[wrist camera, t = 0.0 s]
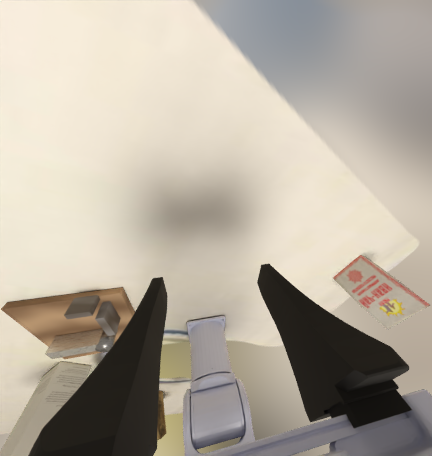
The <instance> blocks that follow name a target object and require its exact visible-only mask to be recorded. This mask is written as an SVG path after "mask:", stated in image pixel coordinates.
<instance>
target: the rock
mask: <svg viewBox="0 0 432 456" xmlns="http://www.w3.org/2000/svg"><path fill="white" fill-rule="evenodd" d="M165 434H166V425H165V415H164V403H163V392H162V391H159V397H158V427H157V440H159V439H161V438H162V437H163V436H164V435H165Z"/></svg>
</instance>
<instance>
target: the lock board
mask: <svg viewBox="0 0 432 456" xmlns="http://www.w3.org/2000/svg"><path fill="white" fill-rule="evenodd" d="M1 310H2V311H4V312H5V313H6V314H7V315H9V316H10V317H11V318H13V319H14V320H15V321H16V322H18V323H19V324H20V325H22V326H23V327H24V328H25V329H27V330H28V331H29V332H30V333H32V334H33V335H34V336H36V337H37V338H38V339H39V340H41V341H42V342H43V343H45V344H46V345H47V346H48V347H49V346H50V345H51V343H52V341H53V340H54V338H55V336H62V335H68V334H74V333H80V332H86V331H92V330H98V329H103V330H104V332H105V333H106V334H107V336H111V335H116V332H117V329H118V332H117V335H116V338H115V341H114V343H115V342H116V341H117V339H118V338H119V336H120V335H121V333H122V332H123V331H124V329H125V328H126V326H127V324H128V323H129V321H130V320H131V318H132V316H133V315H134V313H135V312H134V310H133V307H132V305H131V303H130V301H129V299H128V297H127V295H126V293H125V291H124V289H123V287H122V288H114V289H107V290H99V291H91V292H84V293H76V294H68V295H61V296H53V297H45V298H38V299H30V300H22V301H15V302H7V303H6V304H5V305H4V307H3V308H2V309H1ZM113 345H114V344H113ZM96 353H101V352H97V351H93V352H88V353H82V354H77V355H71V356H66V357H62V358H64V359H69V358H74V357H80V356H85V355H91V354H96Z"/></svg>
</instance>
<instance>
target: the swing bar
mask: <svg viewBox="0 0 432 456" xmlns="http://www.w3.org/2000/svg"><path fill="white" fill-rule="evenodd" d="M117 332H118V329H117ZM117 332H116V335H117ZM116 335H111V336H107V334H106V333H105V332H104V330H103V329H98V330H92V331H86V332H80V333H74V334H68V335H62V336H55V338H54V340H53V341H52V343H51V345H50V346H49V348H48V350H47V351H46V353H45V354H46V355H47V356H49V357H50V358H52V359H55V358H60V357H66V356H71V355H77V354H82V353H88V352H93V351H97V352H108V351H109V350H110V349H111V347H112V346H113V344H114V341H115V338H116Z"/></svg>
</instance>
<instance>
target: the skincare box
mask: <svg viewBox="0 0 432 456" xmlns="http://www.w3.org/2000/svg"><path fill="white" fill-rule="evenodd" d="M90 368H91V365H83V364H76V363H69V362H62V361H61V362H60V363H58V364H57V365H56V366H55V367H54V368H52V369H51V370H50V371H49V372H48V373H47V374H45V375H44V376H43V377H42V378H41V380H40V382H39V384H38V386H37V388H36V389H35V391H34V393H33V395H32V397H31V398H30V400H29V402H28V404H27V405H26V407H25V409H24V411H23V412H22V414H21V416H20V418H19V419H18V421H17V423H16V425H15V426H14V428H13V430H12V432H11V433H10V435H9V437H8V439H7V441H6V442H5V444H4V446H3V448H2V449H1V451H0V456H28V455H29V453H30V451H31V449H32V447H33V445H34V443H35V441H36V439H37V438H38V436H39V434H40V432H41V430H42V428H43V427H44V426H45V425H46V424H47V423H48V422H49V421H50V419H51V418H52V417H53V416H54V415H55V414H56V413H57V412H58V411H59V410H60V409H61V407H62V406H63V405H64V404H65V403H66V402H67V401H68V400H69V399H70V398H71V396H72V395H73V394H74V393H75V392H76V391H77V390H78V388H79V387H80V386H81V385H82V384H83V382H84V381H85V380H86V378H87V376H88V373H89V371H90Z"/></svg>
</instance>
